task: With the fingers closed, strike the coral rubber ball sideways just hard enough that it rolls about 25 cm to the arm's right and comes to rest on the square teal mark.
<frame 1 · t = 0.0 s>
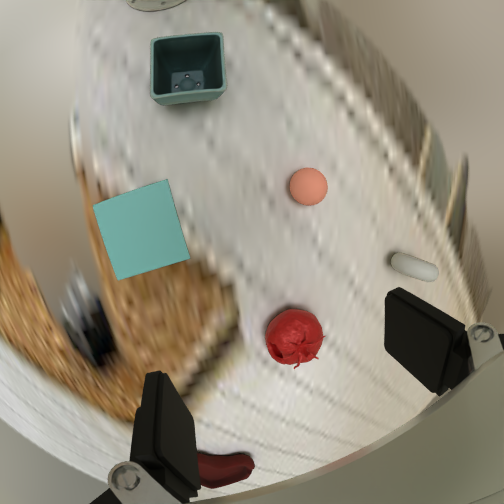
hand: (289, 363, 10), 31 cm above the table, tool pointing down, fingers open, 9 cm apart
donut: (397, 259, 48), on the table
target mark: (140, 231, 37), on the table
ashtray: (214, 462, 54), on the table
ball: (308, 186, 38), on the table
flower pot: (188, 86, 33), on the table
pomegranate: (287, 327, 46), on the table
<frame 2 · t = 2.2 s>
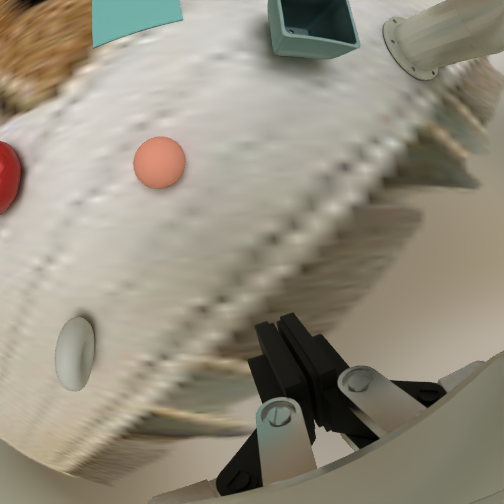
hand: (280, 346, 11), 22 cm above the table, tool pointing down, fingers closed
donut: (87, 334, 32), on the table
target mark: (133, 3, 21), on the table
ball: (159, 162, 26), on the table
flower pot: (290, 42, 27), on the table
pomegranate: (6, 177, 24), on the table
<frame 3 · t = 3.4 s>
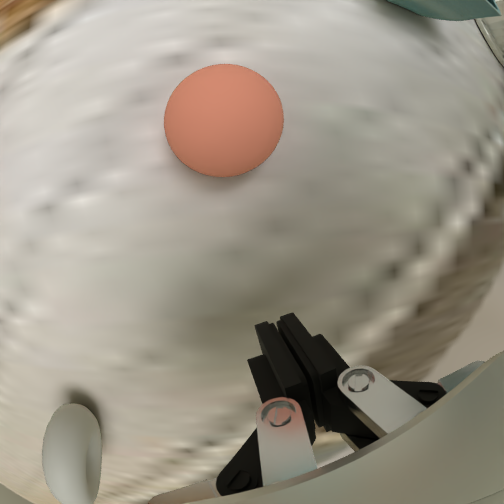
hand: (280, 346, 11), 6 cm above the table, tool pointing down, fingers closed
donut: (87, 415, 18), on the table
ball: (223, 119, 11), on the table
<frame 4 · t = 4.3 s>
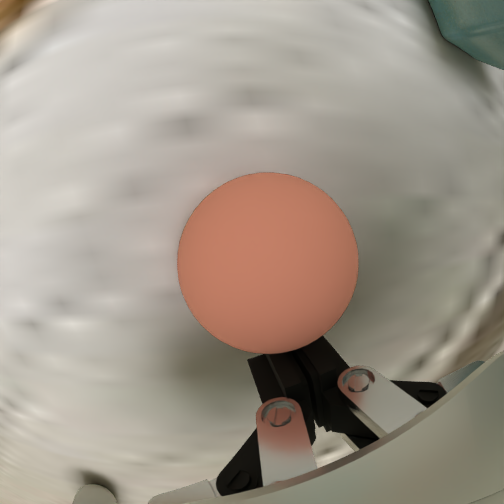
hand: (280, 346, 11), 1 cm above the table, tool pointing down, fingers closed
donut: (102, 487, 14), on the table
ball: (268, 263, 8), on the table, touching gripper
flower pot: (448, 25, 10), on the table
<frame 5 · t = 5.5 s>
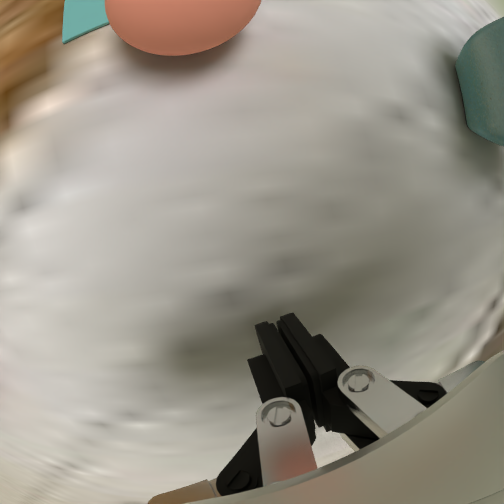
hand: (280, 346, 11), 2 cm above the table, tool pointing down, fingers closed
flower pot: (473, 103, 12), on the table
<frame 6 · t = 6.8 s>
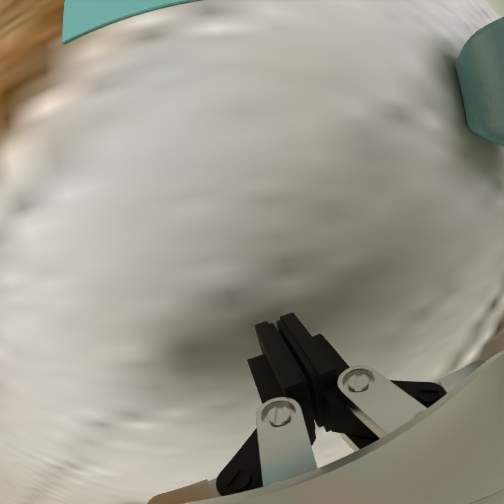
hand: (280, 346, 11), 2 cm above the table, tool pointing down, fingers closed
flower pot: (473, 103, 12), on the table
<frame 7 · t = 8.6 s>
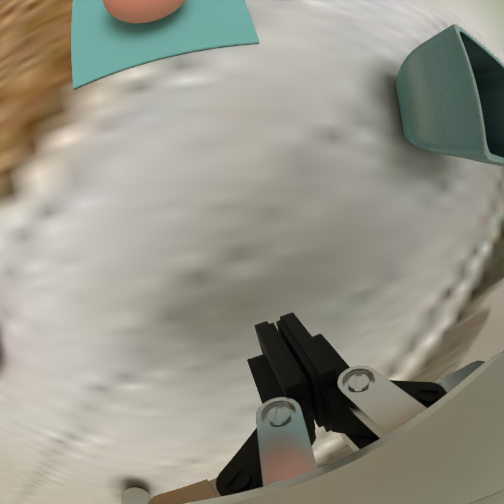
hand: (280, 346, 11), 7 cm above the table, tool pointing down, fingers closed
donut: (138, 489, 20), on the table
flower pot: (414, 114, 18), on the table
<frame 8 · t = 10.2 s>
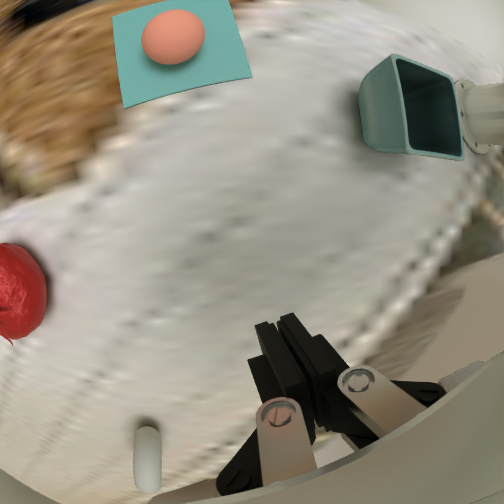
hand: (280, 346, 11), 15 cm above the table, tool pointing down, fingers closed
donut: (149, 432, 29), on the table
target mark: (176, 39, 19), on the table
ball: (173, 36, 17), on the table
flower pot: (375, 121, 25), on the table
pomegranate: (23, 280, 21), on the table
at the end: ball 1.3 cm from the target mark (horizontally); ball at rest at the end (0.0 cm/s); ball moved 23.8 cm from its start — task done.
